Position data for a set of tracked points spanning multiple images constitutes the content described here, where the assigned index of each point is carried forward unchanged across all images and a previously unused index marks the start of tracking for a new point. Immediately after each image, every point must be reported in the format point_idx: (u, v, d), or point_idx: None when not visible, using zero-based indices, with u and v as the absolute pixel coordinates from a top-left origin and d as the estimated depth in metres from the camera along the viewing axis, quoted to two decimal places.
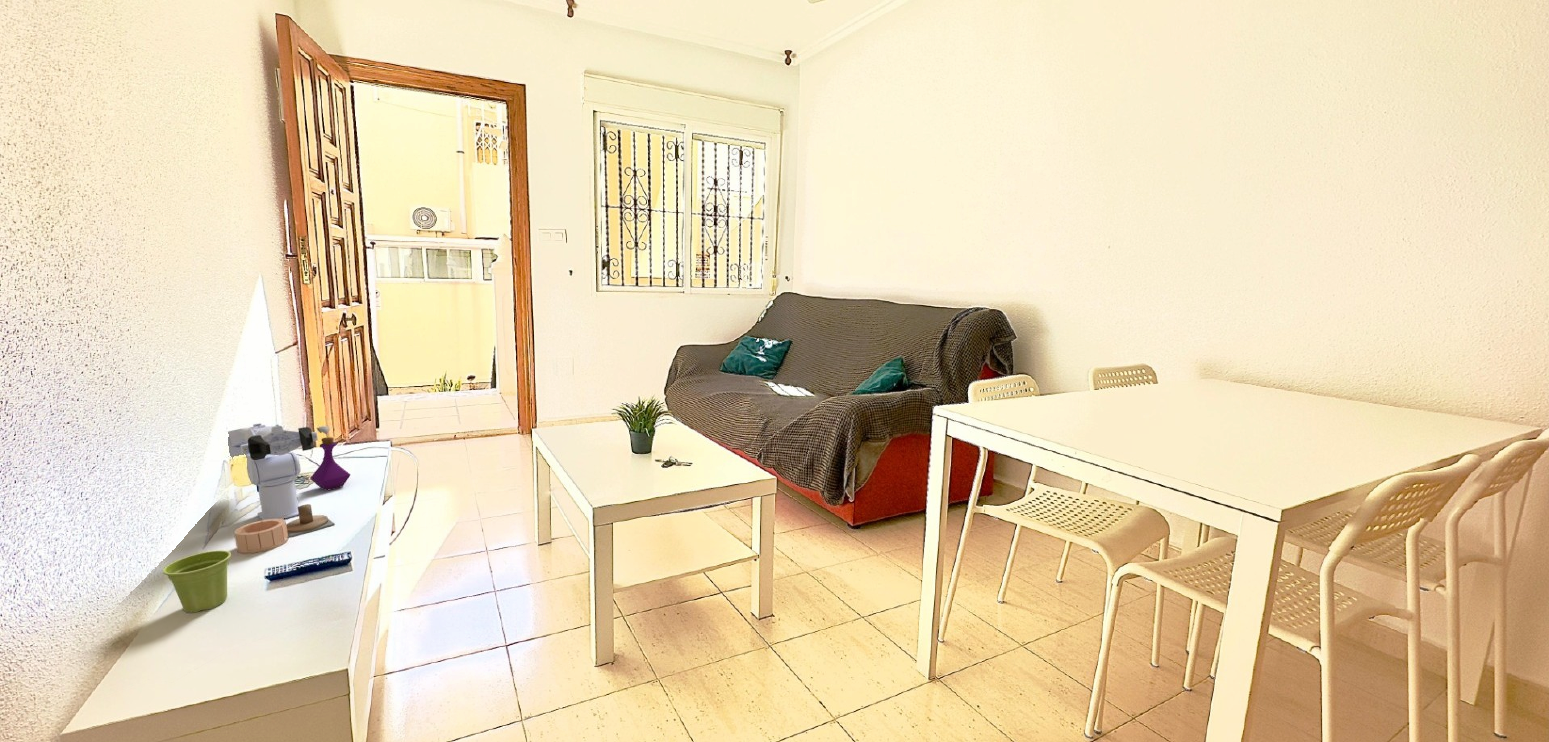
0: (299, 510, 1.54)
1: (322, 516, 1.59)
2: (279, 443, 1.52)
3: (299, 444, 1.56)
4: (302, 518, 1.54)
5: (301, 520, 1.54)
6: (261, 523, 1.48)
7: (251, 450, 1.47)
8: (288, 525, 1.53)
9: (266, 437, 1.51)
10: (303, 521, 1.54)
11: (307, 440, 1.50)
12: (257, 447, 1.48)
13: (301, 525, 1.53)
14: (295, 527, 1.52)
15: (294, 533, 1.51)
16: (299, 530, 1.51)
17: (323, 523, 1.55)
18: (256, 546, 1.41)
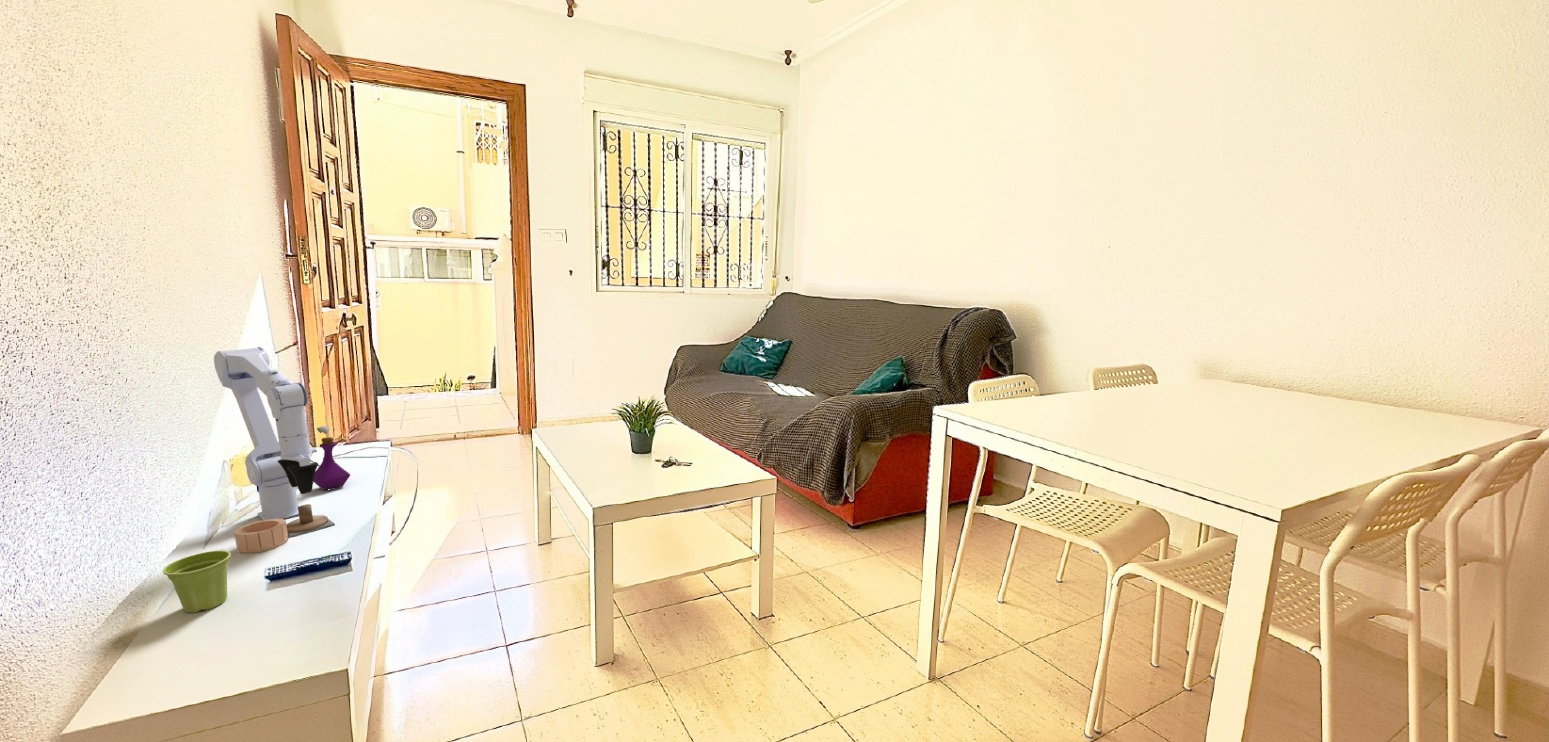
0: (299, 510, 1.54)
1: (322, 516, 1.59)
2: None
3: None
4: (302, 518, 1.54)
5: (301, 520, 1.54)
6: (261, 523, 1.48)
7: (302, 468, 1.49)
8: (288, 525, 1.53)
9: None
10: (303, 521, 1.54)
11: None
12: None
13: (300, 525, 1.53)
14: (295, 527, 1.52)
15: (294, 533, 1.51)
16: (299, 530, 1.51)
17: (323, 523, 1.55)
18: (256, 546, 1.41)
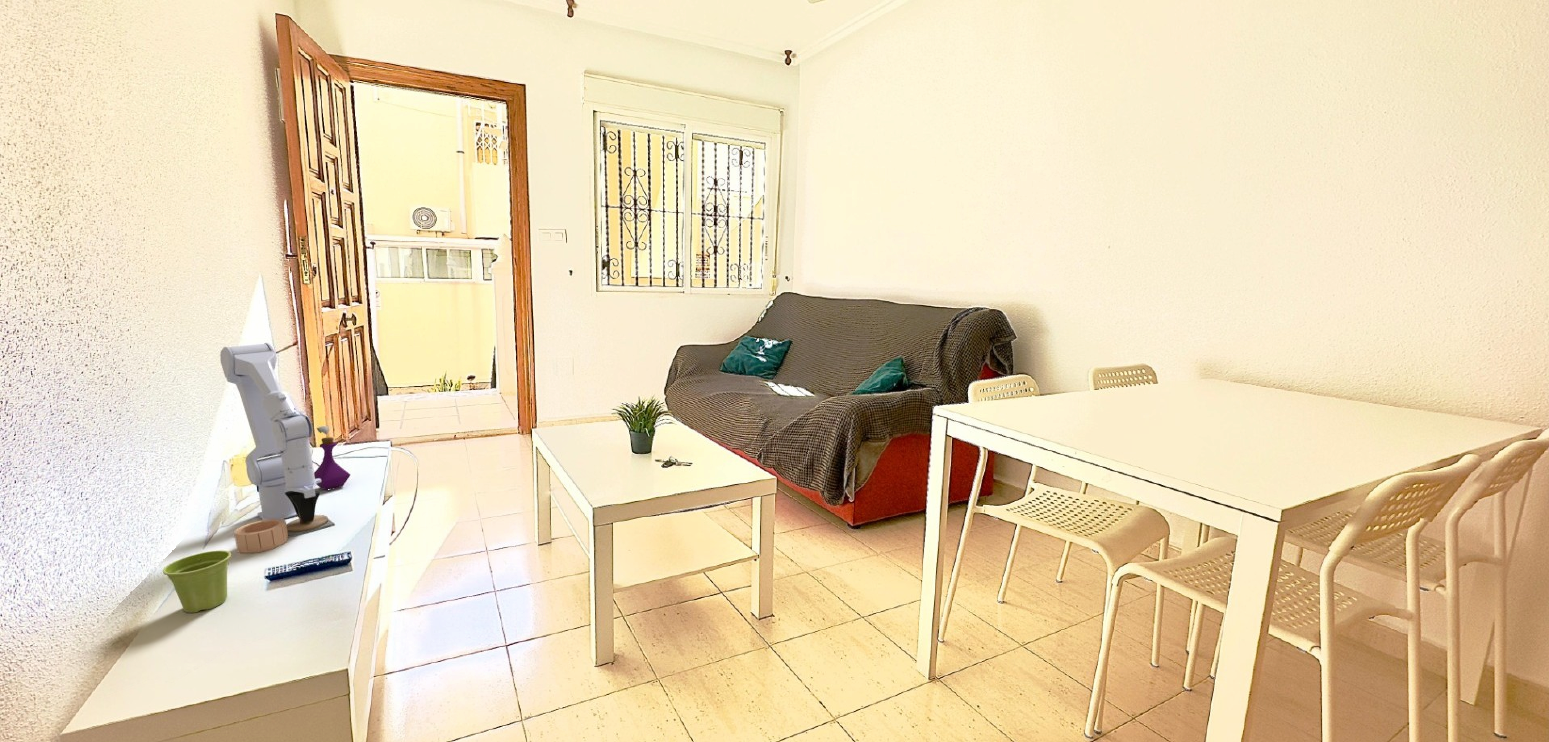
0: None
1: (322, 516, 1.59)
2: None
3: None
4: None
5: (301, 520, 1.54)
6: (261, 523, 1.48)
7: (304, 497, 1.52)
8: (288, 525, 1.53)
9: None
10: None
11: None
12: None
13: (300, 525, 1.53)
14: (295, 527, 1.52)
15: (294, 533, 1.51)
16: (299, 530, 1.51)
17: (323, 523, 1.55)
18: (256, 546, 1.41)
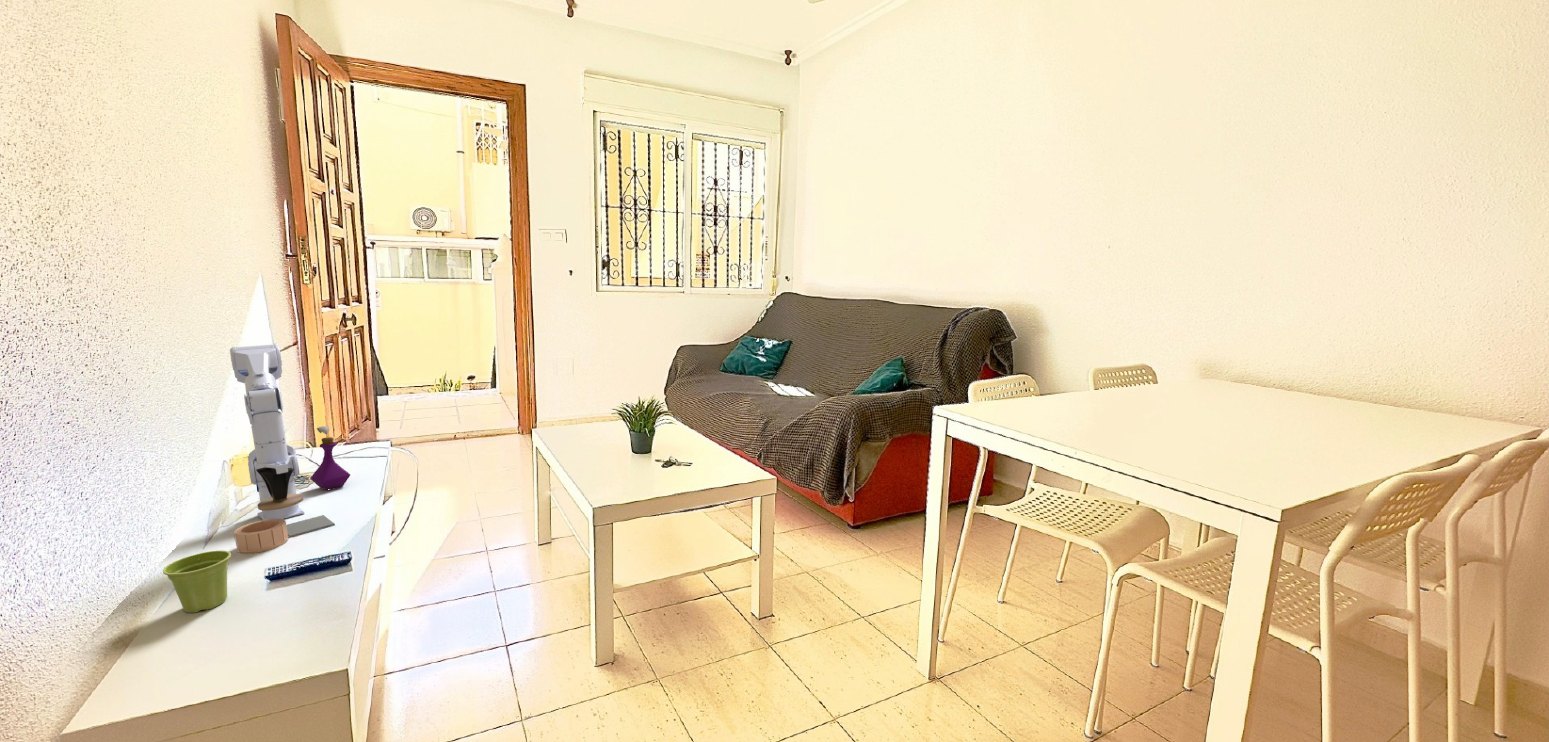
0: None
1: (297, 495, 1.52)
2: None
3: None
4: None
5: None
6: (261, 523, 1.48)
7: (277, 474, 1.45)
8: (260, 504, 1.47)
9: None
10: None
11: None
12: None
13: (274, 504, 1.47)
14: (268, 505, 1.46)
15: (294, 533, 1.51)
16: (272, 508, 1.45)
17: (298, 501, 1.49)
18: (256, 546, 1.41)
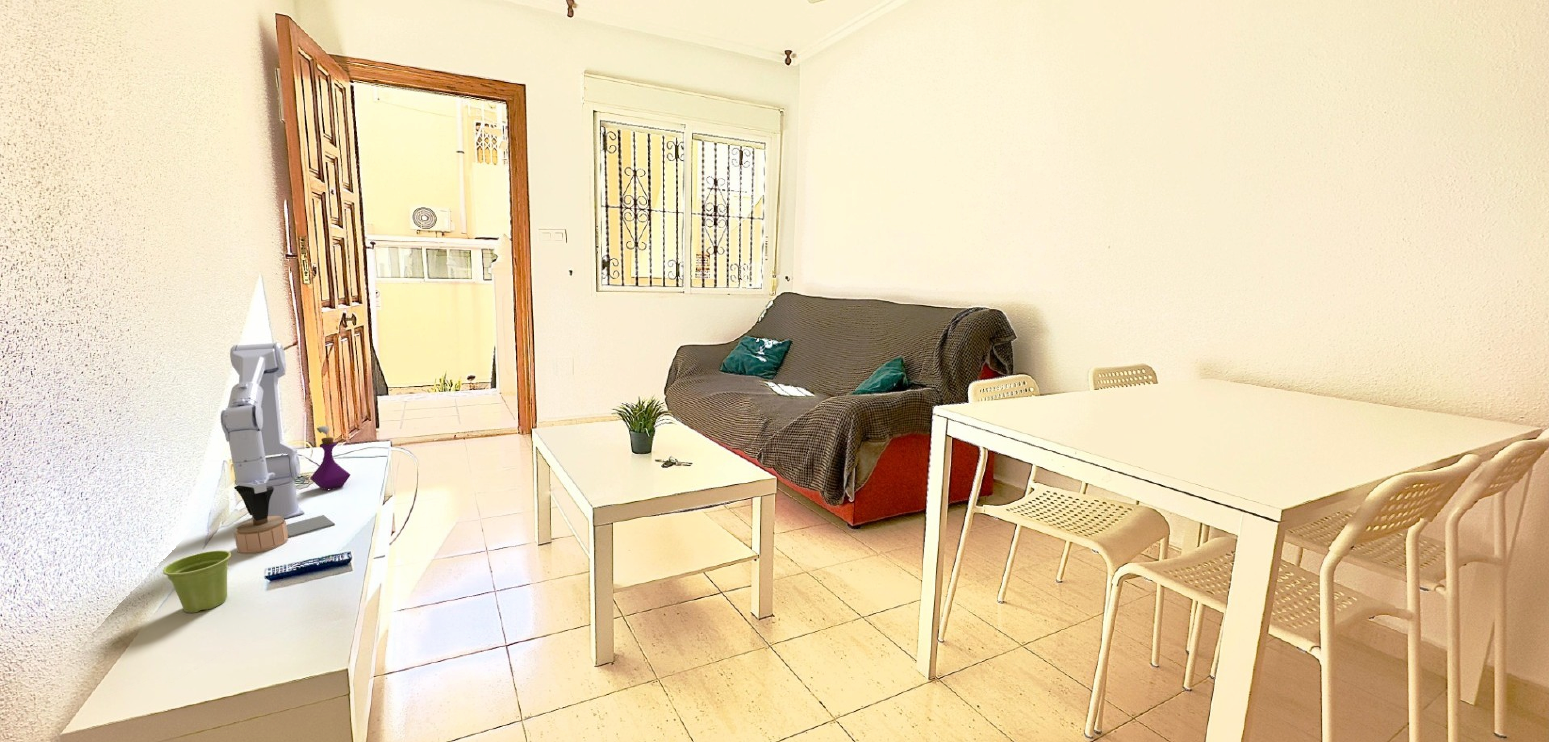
0: None
1: (278, 517, 1.48)
2: None
3: None
4: None
5: (254, 521, 1.43)
6: None
7: (256, 494, 1.40)
8: (240, 526, 1.43)
9: None
10: (257, 522, 1.44)
11: None
12: None
13: (254, 527, 1.43)
14: (247, 528, 1.42)
15: (294, 533, 1.51)
16: (252, 532, 1.41)
17: (279, 524, 1.45)
18: (256, 546, 1.41)
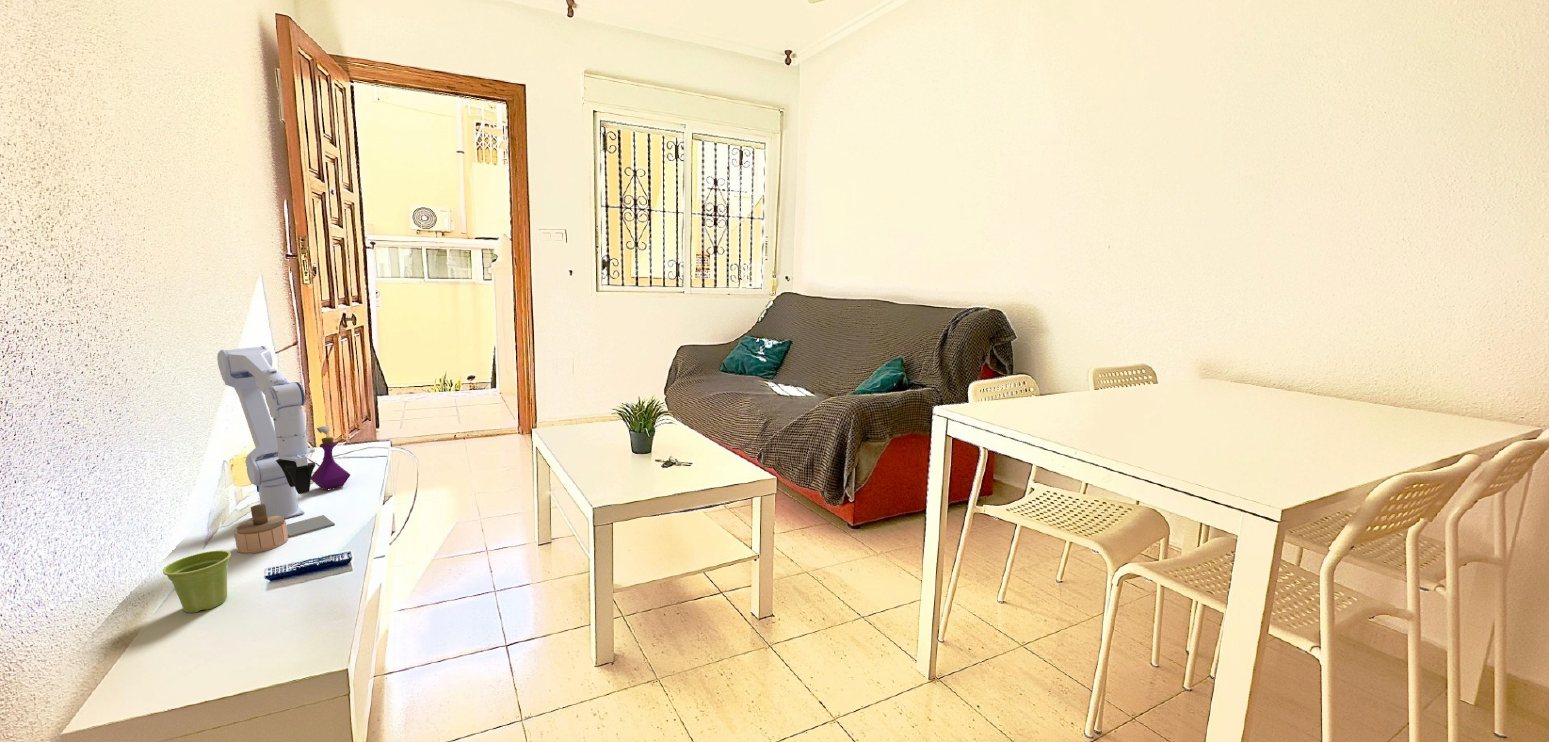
0: (252, 510, 1.43)
1: (278, 517, 1.48)
2: None
3: None
4: (255, 519, 1.43)
5: (254, 521, 1.43)
6: None
7: (299, 468, 1.48)
8: (240, 526, 1.43)
9: None
10: (257, 522, 1.44)
11: None
12: None
13: (254, 527, 1.43)
14: (247, 528, 1.42)
15: (294, 533, 1.51)
16: (252, 532, 1.41)
17: (279, 524, 1.45)
18: (256, 546, 1.41)
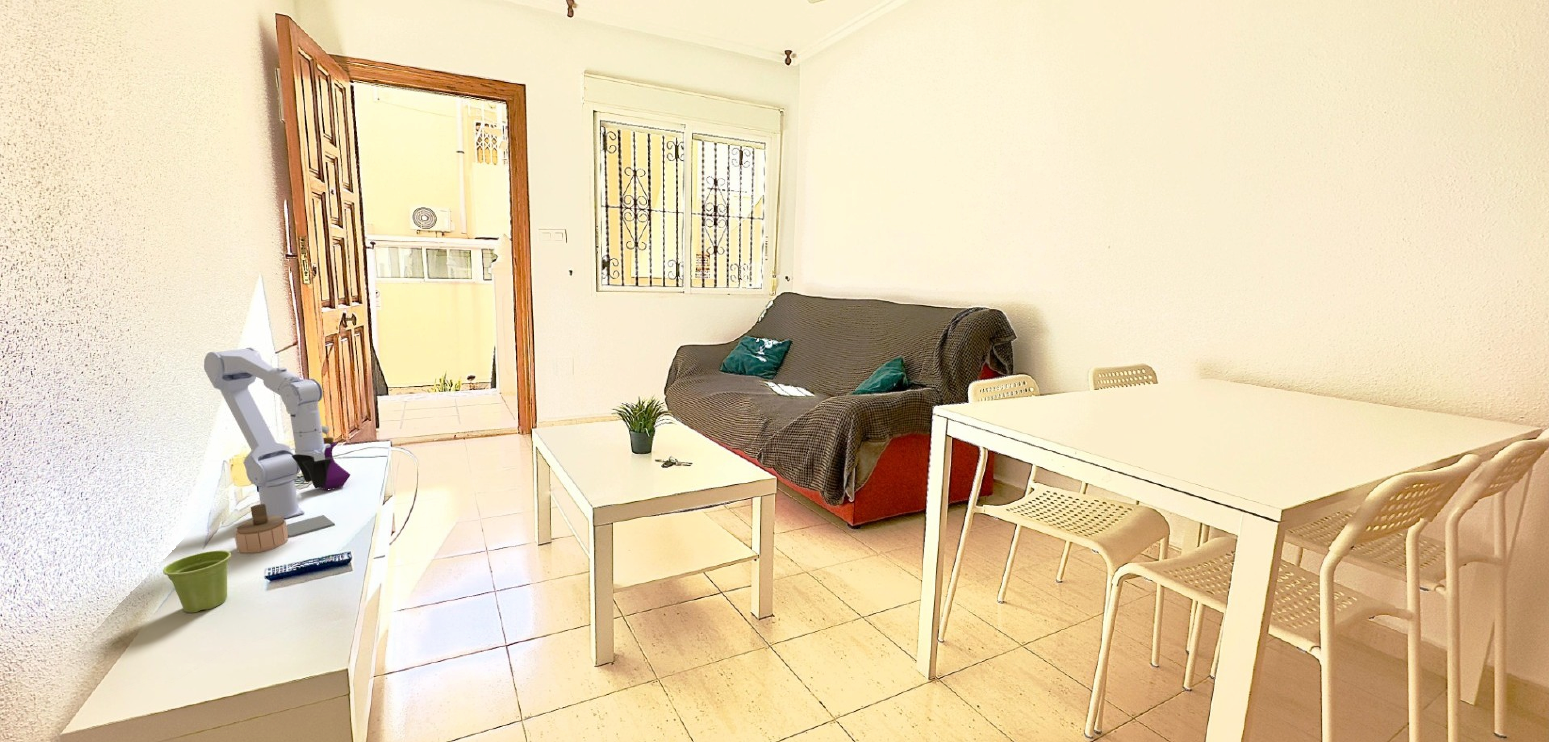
0: (252, 510, 1.43)
1: (278, 517, 1.48)
2: None
3: None
4: (255, 519, 1.43)
5: (254, 521, 1.43)
6: None
7: (317, 463, 1.51)
8: (240, 526, 1.43)
9: None
10: (257, 522, 1.44)
11: None
12: None
13: (254, 527, 1.43)
14: (247, 528, 1.42)
15: (294, 533, 1.51)
16: (252, 532, 1.41)
17: (279, 524, 1.45)
18: (256, 546, 1.41)
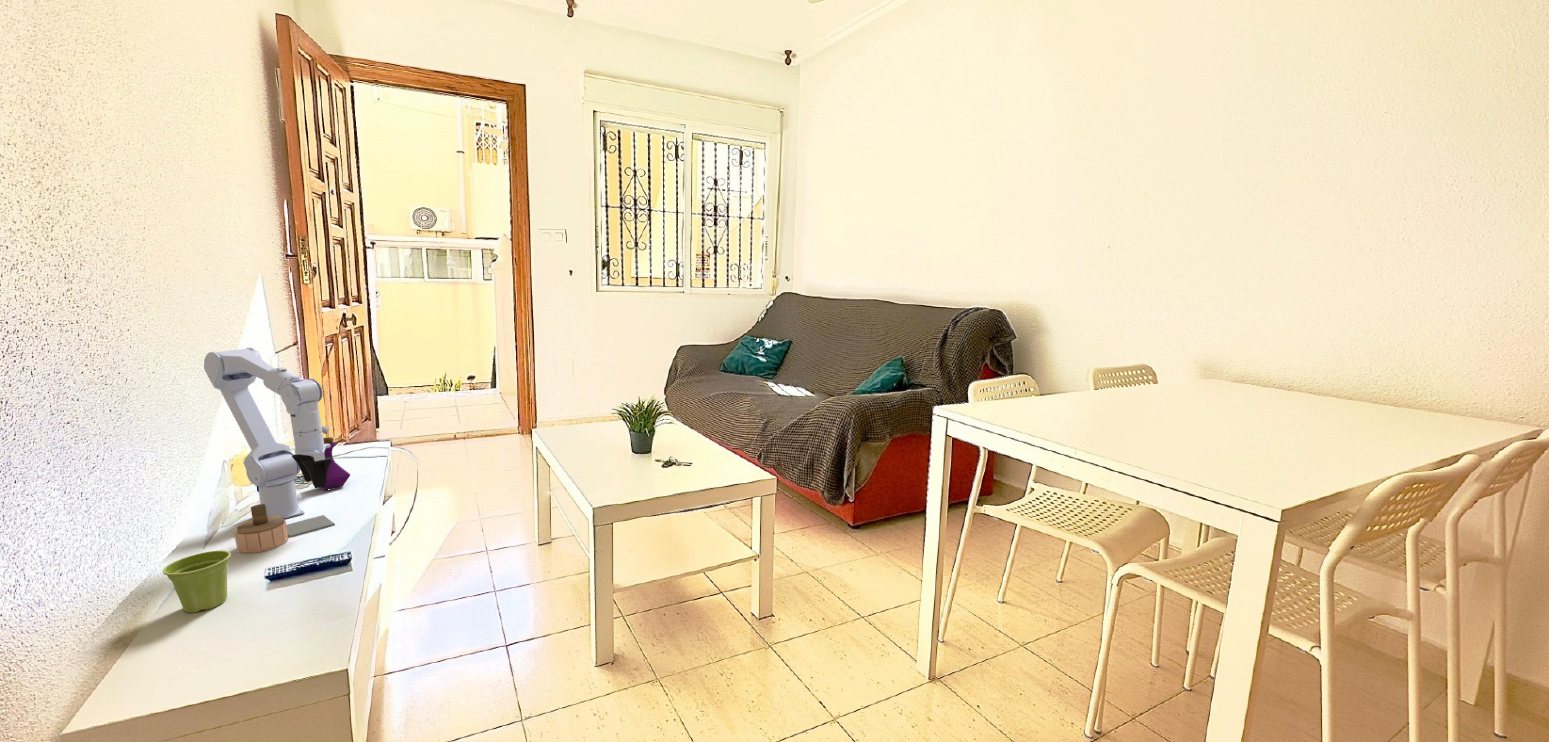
0: (252, 510, 1.43)
1: (278, 517, 1.48)
2: None
3: None
4: (255, 519, 1.43)
5: (254, 521, 1.43)
6: None
7: (317, 463, 1.51)
8: (240, 526, 1.43)
9: None
10: (257, 522, 1.44)
11: None
12: None
13: (254, 527, 1.43)
14: (247, 528, 1.42)
15: (294, 533, 1.51)
16: (252, 532, 1.41)
17: (279, 524, 1.45)
18: (256, 546, 1.41)
